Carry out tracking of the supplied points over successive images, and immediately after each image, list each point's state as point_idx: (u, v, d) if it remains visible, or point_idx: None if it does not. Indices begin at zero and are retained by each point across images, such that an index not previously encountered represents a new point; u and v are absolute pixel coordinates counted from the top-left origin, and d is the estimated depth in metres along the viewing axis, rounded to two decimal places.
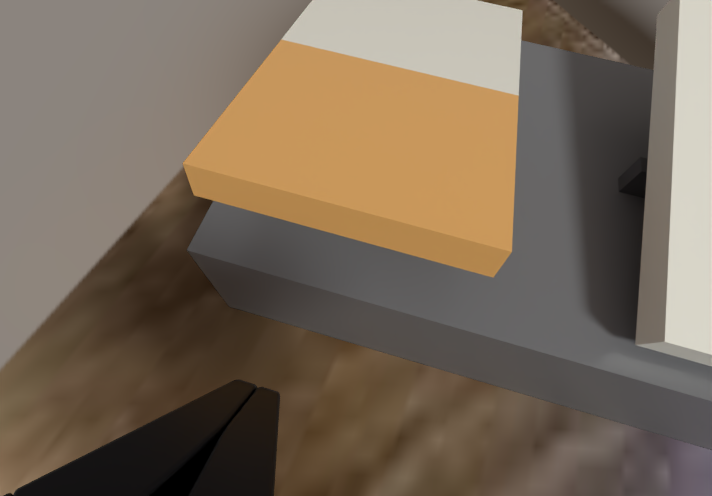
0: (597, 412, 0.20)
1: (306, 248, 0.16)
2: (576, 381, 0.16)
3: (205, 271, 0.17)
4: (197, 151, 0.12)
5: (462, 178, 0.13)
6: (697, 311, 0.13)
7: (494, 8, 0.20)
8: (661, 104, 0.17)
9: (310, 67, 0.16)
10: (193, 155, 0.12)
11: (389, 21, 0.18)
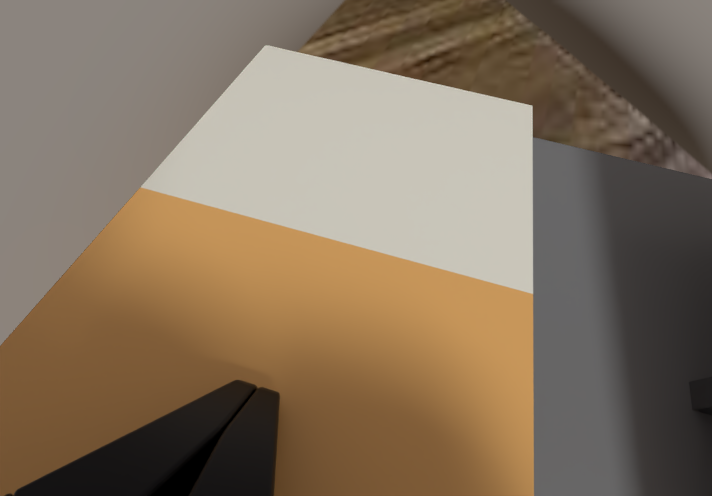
0: None
1: None
2: None
3: None
4: None
5: None
6: None
7: (491, 103, 0.14)
8: None
9: (173, 250, 0.09)
10: None
11: (329, 138, 0.12)
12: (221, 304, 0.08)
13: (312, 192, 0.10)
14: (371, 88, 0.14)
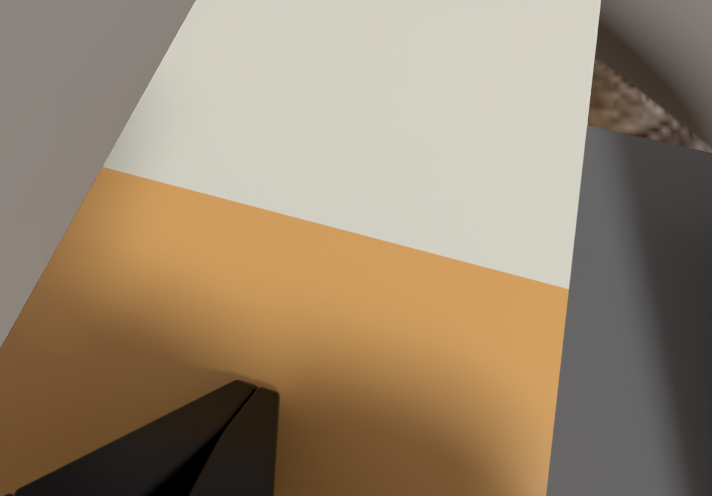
0: None
1: None
2: None
3: None
4: None
5: None
6: None
7: None
8: None
9: (147, 250, 0.08)
10: None
11: (323, 75, 0.09)
12: (205, 317, 0.07)
13: (303, 160, 0.09)
14: None
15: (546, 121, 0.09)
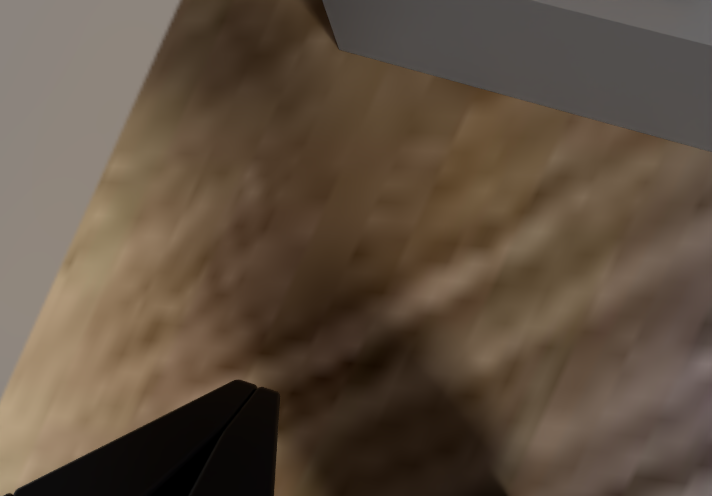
0: None
1: None
2: None
3: None
4: None
5: None
6: None
7: None
8: None
9: None
10: None
11: None
12: None
13: None
14: None
15: None
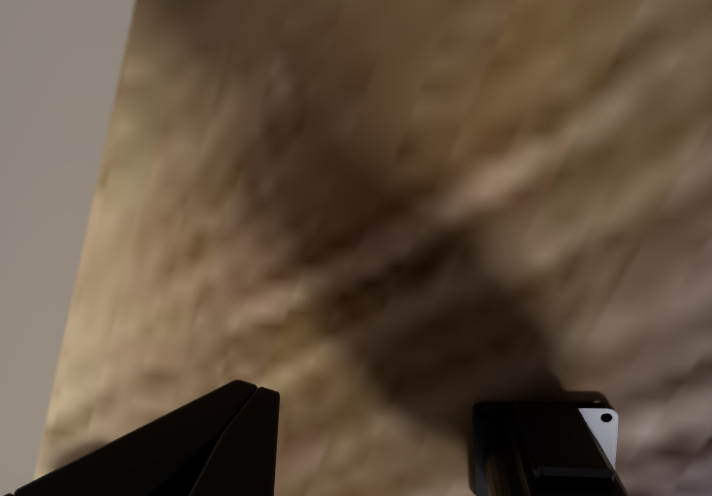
0: None
1: None
2: None
3: None
4: None
5: None
6: None
7: None
8: None
9: None
10: None
11: None
12: None
13: None
14: None
15: None
